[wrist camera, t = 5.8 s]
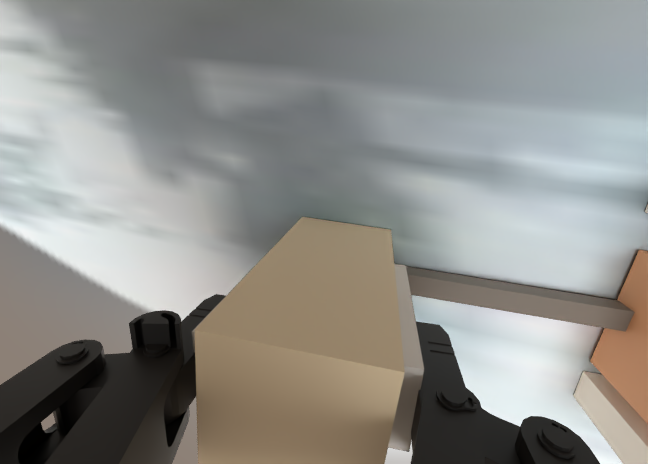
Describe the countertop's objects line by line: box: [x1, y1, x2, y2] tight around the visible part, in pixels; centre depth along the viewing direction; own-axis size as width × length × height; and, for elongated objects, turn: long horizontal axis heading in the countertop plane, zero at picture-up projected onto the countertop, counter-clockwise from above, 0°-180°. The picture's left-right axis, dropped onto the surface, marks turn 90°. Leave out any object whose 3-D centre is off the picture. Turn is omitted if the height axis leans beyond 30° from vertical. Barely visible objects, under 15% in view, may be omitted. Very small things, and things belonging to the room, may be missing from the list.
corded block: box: [195, 217, 648, 464], centre depth 11 cm, size 6×21×10 cm, turn 84°
